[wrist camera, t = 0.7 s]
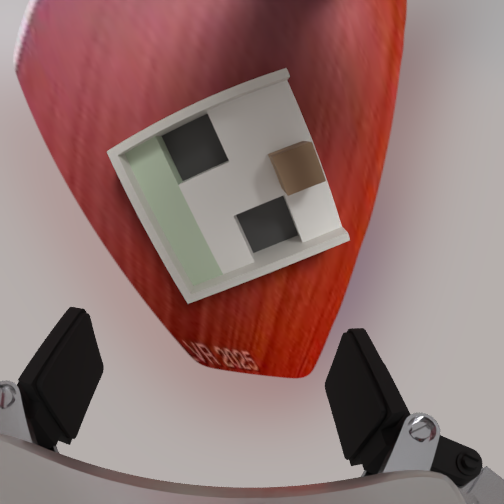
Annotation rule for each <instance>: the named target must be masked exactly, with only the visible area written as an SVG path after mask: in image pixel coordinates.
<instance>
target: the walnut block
mask: <svg viewBox="0 0 504 504" xmlns="http://www.w3.org/2000/svg"><path fill="white" fill-rule="evenodd" d="M268 156H269V158H270V161H271V163H272V165H273V168H274V170H275V173H276V175H277V178H278V180H279V183H280V185H281V188H282V189H283V190H284V192H285V193H286V194H287V196H289V195H292V194H294V193H297V192H299V191H302V190H304V189H307V188H309V187H312V186H314V185H317V184H320V183H322V182H325V181H326V179H325V176H324V173H323V170H322V168H321V165H320V162H319V159H318V157H317V154H316V151H315V149H314V146H313V143H312V142H309V141H301V142H298V143H295V144H293V145H290V146H287V147H285V148H282V149H280V150H277V151H274V152H272V153H269V154H268Z"/></svg>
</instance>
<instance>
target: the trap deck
mask: <svg viewBox="0 0 504 504" xmlns="http://www.w3.org/2000/svg"><path fill="white" fill-rule="evenodd" d="M289 77H290V75H289V72H288V70H287V68H284V69H281V70H278V71H275V72H272V73H269V74H266V75H263V76H260V77H258V78H255V79H252V80H249V81H247V82H244V83H241V84H239V85H236V86H234V87H231V88H229V89H226V90H224V91H222V92H219V93H217V94H214V95H212V96H210V97H208V98H205V99H203V100H201V101H199V102H196V103H194V104H192V105H190V106H188V107H186V108H184V109H182V110H180V111H178V112H176V113H174V114H172V115H170V116H168V117H166V118H164V119H162V120H160V121H158V122H156V123H154V124H153V125H151V126H149V127H147V128H145V129H144V130H142V131H140V132H138V133H136V134H135V135H133V136H131V137H130V138H128V139H126V140H125V141H123V142H121V143H120V144H118V145H116V146H115V147H113V148H112V149H110V150H108V151H107V154H108V156H109V158H110V160H111V162H112V165H113V167H114V169H115V171H116V173H117V175H118V177H119V179H120V181H121V183H122V185H123V188H124V190H125V192H126V194H127V196H128V198H129V200H130V202H131V204H132V206H133V207H134V209H135V211H136V213H137V215H138V217H139V219H140V221H141V223H142V225H143V227H144V228H145V230H146V232H147V234H148V236H149V238H150V240H151V241H152V243H153V245H154V247H155V249H156V250H157V252H158V254H159V256H160V258H161V259H162V261H163V263H164V265H165V266H166V268H167V270H168V272H169V273H170V275H171V277H172V278H173V280H174V282H175V283H176V285H177V287H178V288H179V290H180V292H181V293H182V295H183V297H184V298H185V300H186V302H187V303H188V304H189V303H192V302H194V301H197V300H200V299H203V298H205V297H208V296H210V295H213V294H216V293H218V292H221V291H224V290H226V289H229V288H232V287H234V286H237V285H239V284H242V283H245V282H247V281H250V280H252V279H255V278H257V277H260V276H263V275H265V274H268V273H270V272H273V271H275V270H278V269H280V268H283V267H285V266H288V265H290V264H293V263H295V262H298V261H300V260H303V259H305V258H308V257H310V256H313V255H315V254H318V253H320V252H323V251H325V250H327V249H330V248H332V247H335V246H337V245H340V244H342V243H344V242H347V241H349V240H350V238H349V235H348V232H347V231H346V230H345V229H344V228H343V227H342V225H341V222H340V219H339V215H338V212H337V209H336V206H335V203H334V200H333V197H332V194H331V191H330V188H329V185H328V182H327V179H326V176H325V173H324V170H323V168H322V165H321V162H320V159H319V157H318V154H317V151H316V149H315V146H314V143H313V141H312V138H311V136H310V133H309V130H308V128H307V125H306V123H305V121H304V118H303V116H302V113H301V111H300V108H299V106H298V104H297V101H296V99H295V97H294V94H293V92H292V90H291V88H290V85H289V83H288V81H287V80H288V79H289ZM301 141H309V142H312V143H313V146H314V149H315V151H316V154H317V157H318V159H319V162H320V165H321V168H322V170H323V173H324V176H325V179H326V181H325V182H322V183H320V184H317V185H314V186H312V187H309V188H307V189H304V190H302V191H299V192H297V193H294V194H292V195H289V196H287V194H286V193H285V192H284V190H283V189H282V188H281V185H280V183H279V180H278V178H277V175H276V173H275V170H274V168H273V165H272V163H271V161H270V158H269V156H268V154H269V153H272V152H274V151H277V150H280V149H282V148H285V147H287V146H290V145H293V144H295V143H298V142H301Z"/></svg>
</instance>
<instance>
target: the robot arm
mask: <svg viewBox="0 0 504 504" xmlns="http://www.w3.org/2000/svg"><path fill="white" fill-rule="evenodd" d="M102 373H103V362H102V359H101V356H100V353H99V349H98V345H97V342H96V338H95V335H94V331H93V327H92V323H91V319H90V315H89V314H87V313H86V311H85V310H84V309H80V308H75V307H70V308H69V309H68V310H67V311H66V313H65V314H64V315H63V317H62V318H61V319H60V320H59V322H58V323H57V324H56V326H55V327H54V328H53V330H52V331H51V332H50V334H49V335H48V336H47V338H46V339H45V341H44V342H43V343H42V345H41V346H40V348H39V349H38V351H37V352H36V353H35V355H34V357H33V358H32V359H31V361H30V362H29V364H28V365H27V367H26V368H25V370H24V371H23V373H22V374H21V376H20V378H19V379H18V380H19V382H18V384H17V385H16V384H15V383H13V382H10V381H1V382H0V504H504V480H503V479H502V478H501V477H500V476H498V475H497V474H496V473H494V472H493V471H492V470H491V469H489V468H488V467H487V466H486V467H484V468H483V467H482V459H481V457H480V455H479V454H478V453H477V452H476V451H475V450H473V449H471V448H469V447H466V446H464V445H462V444H459V443H457V442H454V441H452V440H450V439H447V438H445V437H443V436H441V435H440V428H439V425H438V423H437V421H436V420H435V419H434V418H433V417H431V416H429V415H428V414H425V413H414V414H411V415H410V413H409V411H408V409H407V407H406V405H405V403H404V401H403V399H402V397H401V395H400V393H399V391H398V389H397V387H396V385H395V383H394V381H393V379H392V377H391V375H390V373H389V371H388V369H387V368H386V366H385V364H384V363H383V361H382V360H381V358H380V356H379V354H378V352H377V350H376V348H375V347H374V345H373V343H372V341H371V339H370V337H369V336H368V334H367V332H366V330H364V329H363V328H360V329H359V328H357V329H348V331H347V333H343V335H342V338H341V341H340V344H339V346H338V349H337V352H336V355H335V358H334V360H333V363H332V366H331V368H330V371H329V374H328V376H327V379H326V382H325V390H326V393H327V397H328V400H329V403H330V407H331V411H332V414H333V418H334V421H335V425H336V428H337V432H338V435H339V439H340V442H341V446H342V449H343V453H344V457H345V458H346V459H347V460H348V459H349V460H350V464H351V466H354V465H359V464H363V468H364V470H365V471H364V472H363V474H362V476H361V477H359V478H353V479H347V480H341V481H335V482H327V483H319V484H311V485H302V486H288V487H270V488H231V487H212V486H199V485H189V484H181V483H173V482H167V481H160V480H154V479H149V478H143V477H139V476H133V475H129V474H125V473H121V472H117V471H113V470H109V469H105V468H101V467H98V466H95V465H91V464H88V463H85V462H82V461H79V460H76V459H73V458H70V457H67V456H64V455H61V454H59V452H58V450H57V447H56V444H57V442H58V441H61V442H64V443H66V444H69V445H70V443H71V440H72V439H75V438H76V436H77V434H78V431H79V429H80V426H81V423H82V421H83V418H84V416H85V413H86V411H87V408H88V406H89V404H90V401H91V399H92V396H93V394H94V392H95V389H96V387H97V385H98V383H99V380H100V378H101V376H102Z"/></svg>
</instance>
